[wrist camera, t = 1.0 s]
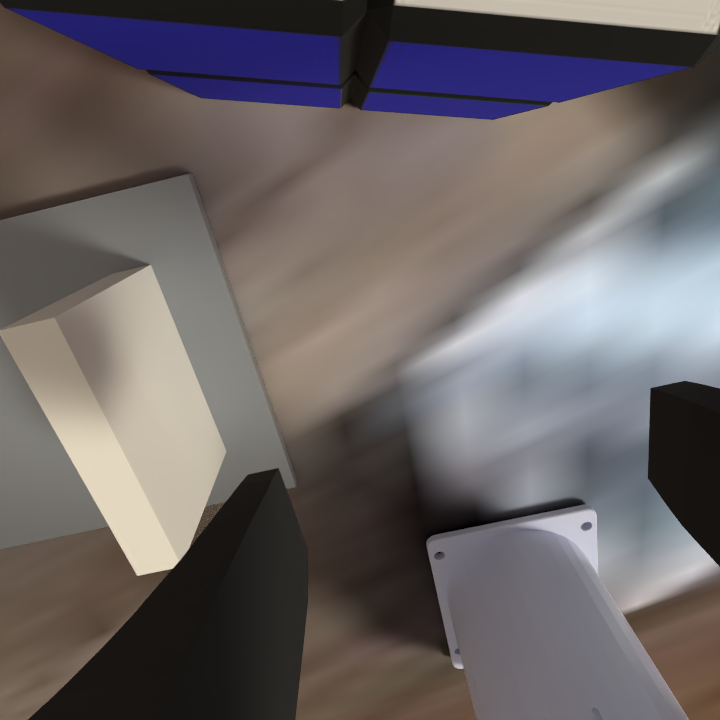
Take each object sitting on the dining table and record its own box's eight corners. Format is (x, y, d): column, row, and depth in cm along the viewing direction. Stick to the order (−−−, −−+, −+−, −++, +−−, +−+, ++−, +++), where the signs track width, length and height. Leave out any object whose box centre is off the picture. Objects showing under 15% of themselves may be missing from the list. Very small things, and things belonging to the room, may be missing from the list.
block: (226, 451, 19) (182, 566, 14) (189, 459, 19) (131, 577, 14) (150, 264, 16) (54, 317, 11) (107, 274, 16) (-11, 332, 11)
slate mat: (297, 479, 21) (296, 487, 20) (2, 542, 21) (-6, 550, 21) (192, 173, 16) (187, 174, 15) (-192, 267, 16) (-207, 271, 16)
